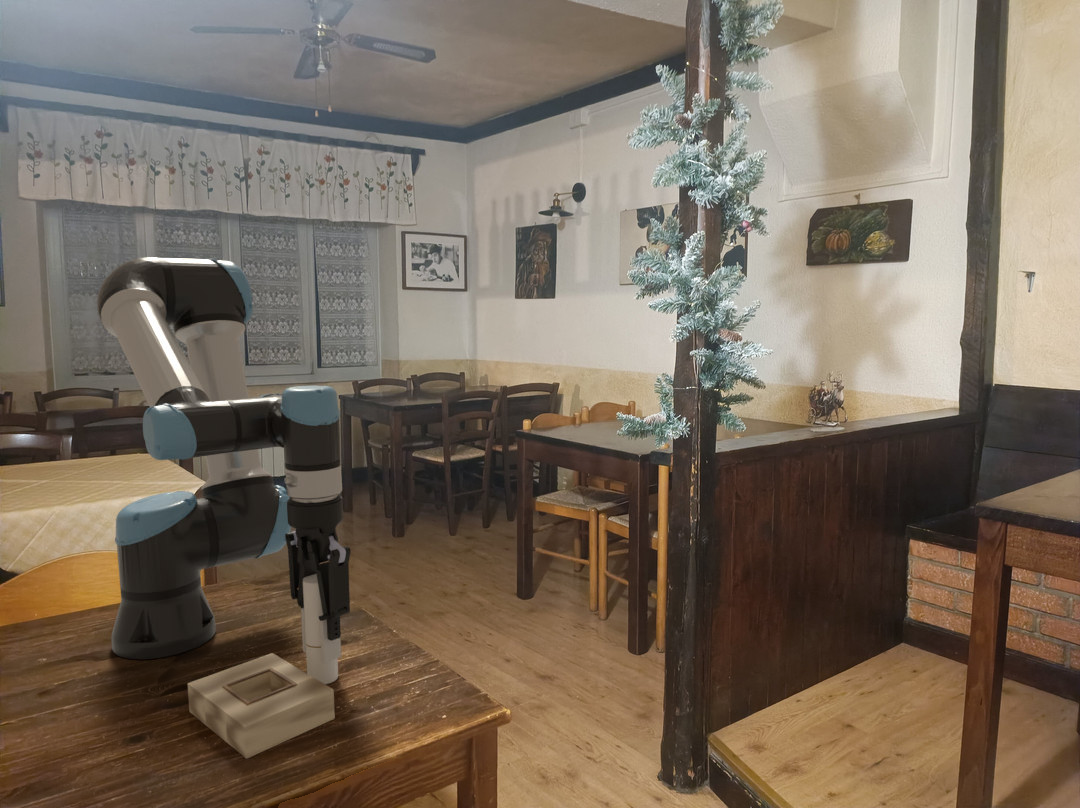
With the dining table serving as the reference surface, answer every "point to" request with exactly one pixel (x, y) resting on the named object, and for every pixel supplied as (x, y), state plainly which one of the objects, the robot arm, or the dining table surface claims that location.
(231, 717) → the socket board
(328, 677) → the tube
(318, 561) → the robot arm
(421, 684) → the dining table surface
